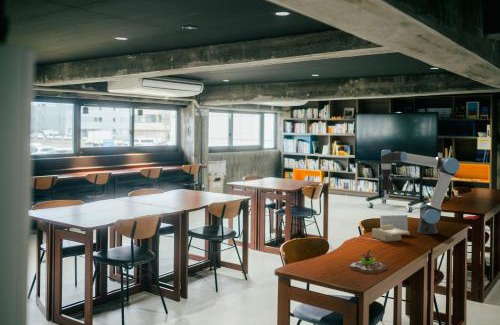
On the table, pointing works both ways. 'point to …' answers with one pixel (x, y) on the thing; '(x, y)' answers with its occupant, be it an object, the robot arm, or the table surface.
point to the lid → (391, 230)
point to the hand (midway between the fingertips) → (386, 198)
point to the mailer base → (385, 236)
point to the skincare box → (395, 221)
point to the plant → (368, 265)
